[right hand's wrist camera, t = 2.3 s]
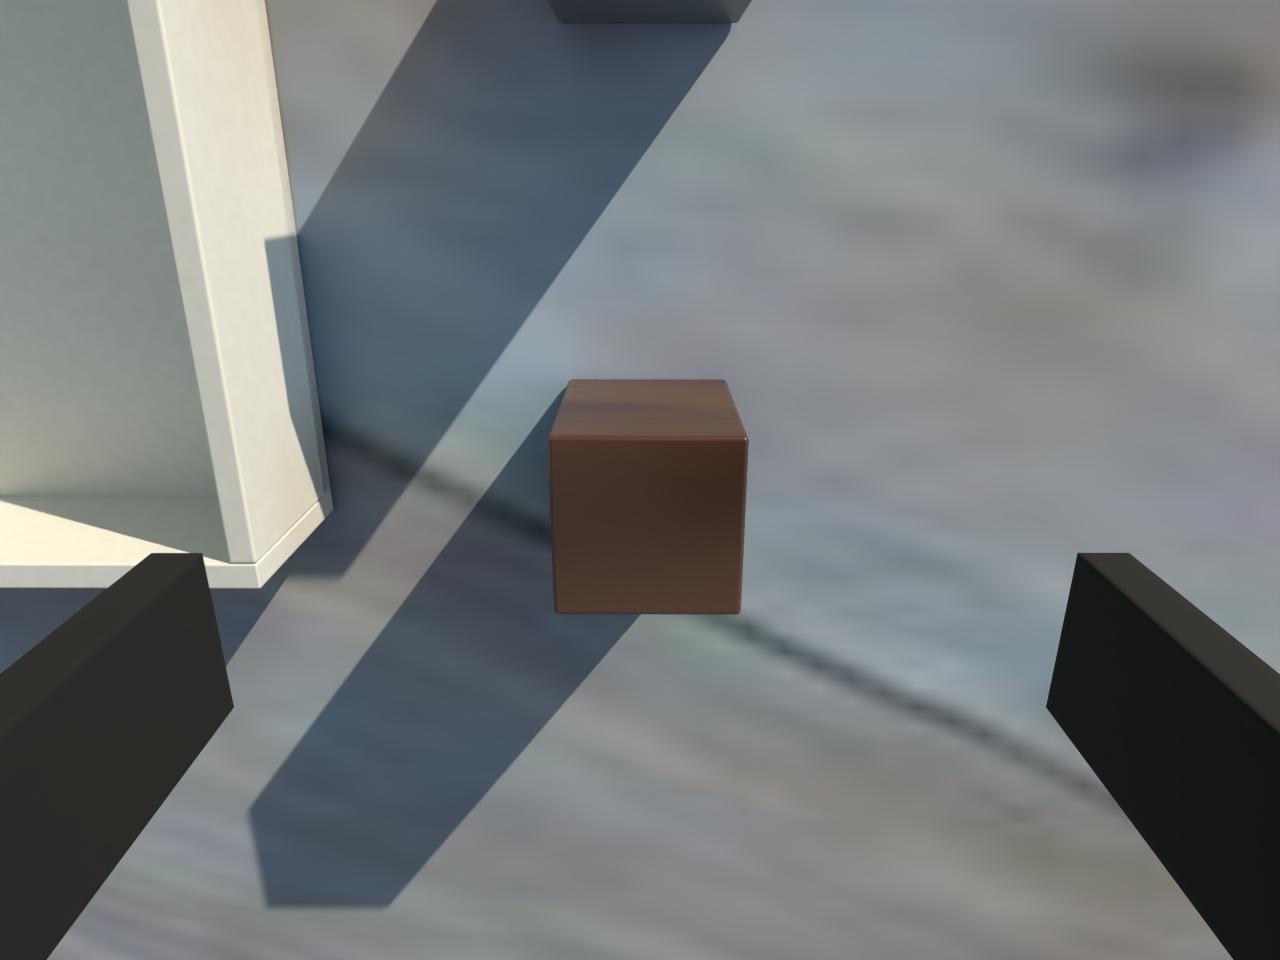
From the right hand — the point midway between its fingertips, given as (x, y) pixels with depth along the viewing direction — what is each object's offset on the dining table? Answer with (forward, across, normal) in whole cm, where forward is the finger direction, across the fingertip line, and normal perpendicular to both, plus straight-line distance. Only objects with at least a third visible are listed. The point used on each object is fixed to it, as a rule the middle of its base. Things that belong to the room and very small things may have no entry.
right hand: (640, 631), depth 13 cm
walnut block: (+10, 0, 0) cm, 10 cm away
